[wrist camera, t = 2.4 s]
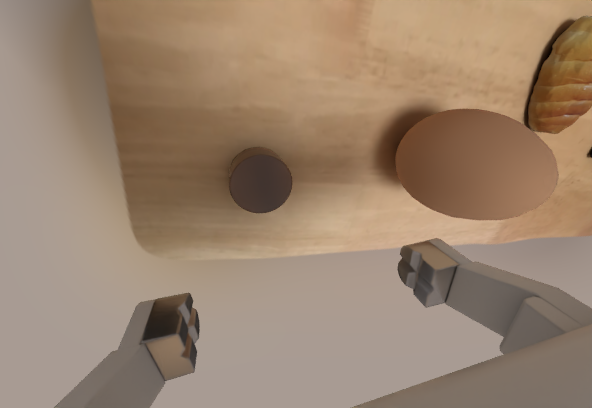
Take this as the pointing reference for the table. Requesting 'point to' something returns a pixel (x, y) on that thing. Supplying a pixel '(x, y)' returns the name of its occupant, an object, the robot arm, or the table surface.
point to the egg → (476, 165)
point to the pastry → (564, 81)
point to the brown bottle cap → (259, 180)
